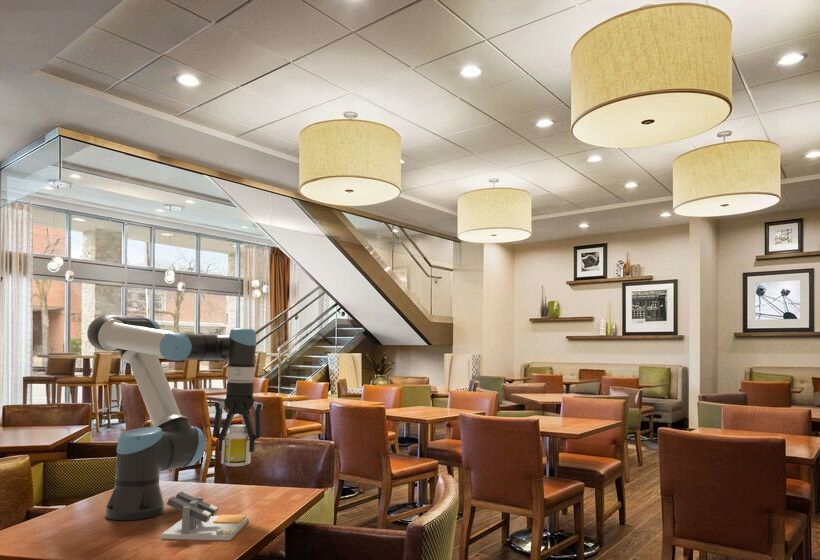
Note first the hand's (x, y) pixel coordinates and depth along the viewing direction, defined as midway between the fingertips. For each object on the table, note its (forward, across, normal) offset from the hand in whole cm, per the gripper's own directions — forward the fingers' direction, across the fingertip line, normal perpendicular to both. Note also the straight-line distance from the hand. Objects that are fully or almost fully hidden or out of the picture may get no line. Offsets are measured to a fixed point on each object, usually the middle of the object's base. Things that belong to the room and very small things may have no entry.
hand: (235, 463), depth 175 cm
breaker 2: (+8, -6, -14) cm, 17 cm away
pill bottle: (+1, 0, 0) cm, 1 cm away
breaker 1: (+8, -6, -20) cm, 22 cm away
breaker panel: (+15, -3, -14) cm, 20 cm away
